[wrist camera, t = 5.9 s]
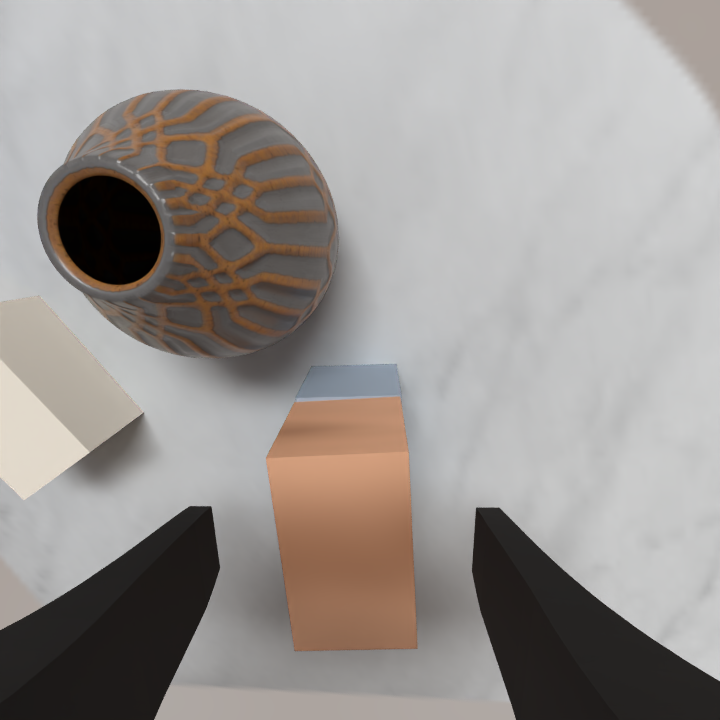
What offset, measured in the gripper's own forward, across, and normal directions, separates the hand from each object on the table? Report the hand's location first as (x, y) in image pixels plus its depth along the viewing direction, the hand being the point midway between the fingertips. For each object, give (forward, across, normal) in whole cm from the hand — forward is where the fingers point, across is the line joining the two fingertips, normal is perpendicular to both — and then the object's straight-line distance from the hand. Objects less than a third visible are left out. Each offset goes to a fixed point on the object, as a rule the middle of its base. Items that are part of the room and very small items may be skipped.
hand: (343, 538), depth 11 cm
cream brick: (+7, +12, -2) cm, 14 cm away
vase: (+7, +4, -8) cm, 11 cm away
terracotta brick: (+3, 0, 0) cm, 3 cm away
